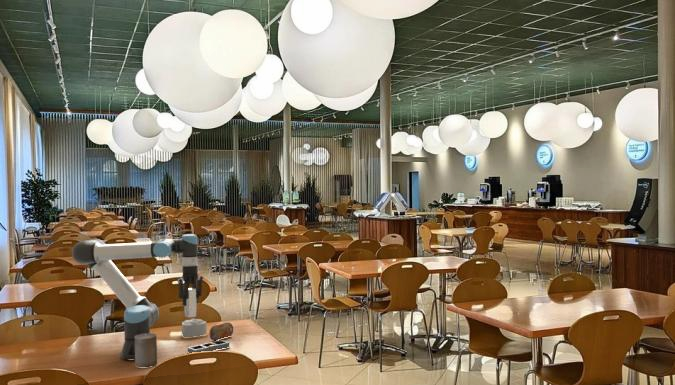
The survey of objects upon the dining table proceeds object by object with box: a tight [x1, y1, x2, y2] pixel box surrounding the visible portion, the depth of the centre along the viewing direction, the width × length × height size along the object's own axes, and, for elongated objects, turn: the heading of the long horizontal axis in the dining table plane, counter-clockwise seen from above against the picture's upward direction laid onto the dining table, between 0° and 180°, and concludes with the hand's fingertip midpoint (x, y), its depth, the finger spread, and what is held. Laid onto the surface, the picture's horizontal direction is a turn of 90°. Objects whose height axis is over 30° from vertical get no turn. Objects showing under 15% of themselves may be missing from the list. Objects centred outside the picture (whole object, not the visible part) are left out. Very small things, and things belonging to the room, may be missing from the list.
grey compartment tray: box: [187, 340, 230, 353], centre depth 291 cm, size 19×7×3 cm, turn 134°
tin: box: [208, 322, 234, 341], centre depth 314 cm, size 15×3×8 cm, turn 143°
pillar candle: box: [134, 332, 158, 368], centre depth 268 cm, size 10×10×15 cm
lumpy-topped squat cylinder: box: [181, 318, 207, 337], centre depth 322 cm, size 10×13×9 cm
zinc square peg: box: [184, 287, 197, 318], centre depth 297 cm, size 4×4×14 cm
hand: (190, 311), depth 297 cm, fingers closed on zinc square peg, 4 cm apart
